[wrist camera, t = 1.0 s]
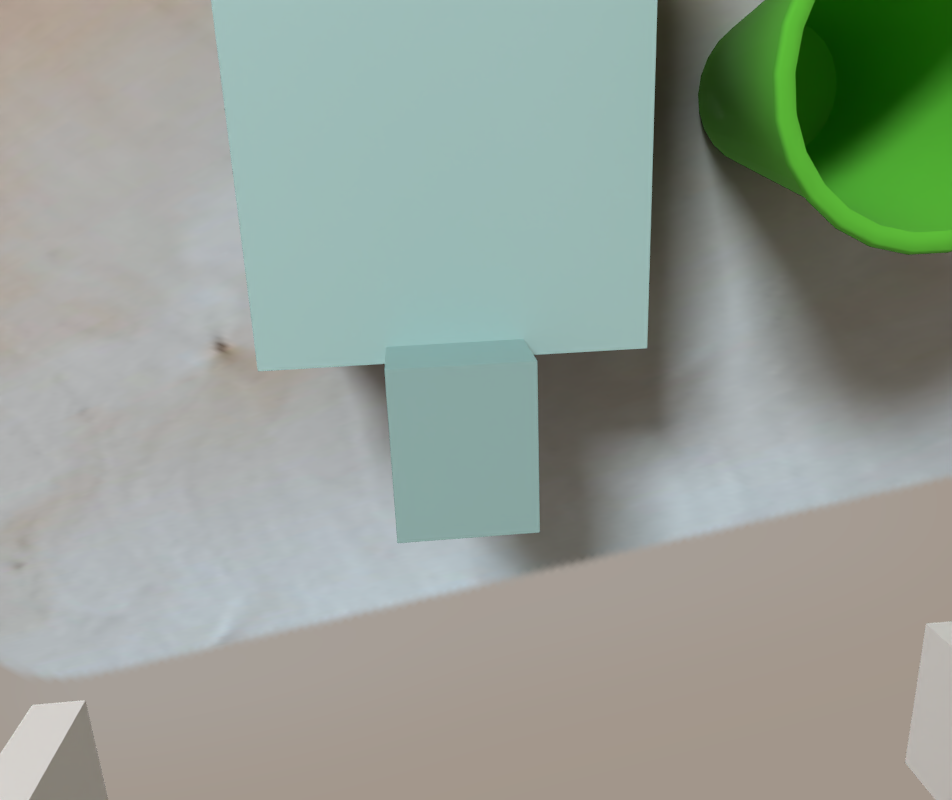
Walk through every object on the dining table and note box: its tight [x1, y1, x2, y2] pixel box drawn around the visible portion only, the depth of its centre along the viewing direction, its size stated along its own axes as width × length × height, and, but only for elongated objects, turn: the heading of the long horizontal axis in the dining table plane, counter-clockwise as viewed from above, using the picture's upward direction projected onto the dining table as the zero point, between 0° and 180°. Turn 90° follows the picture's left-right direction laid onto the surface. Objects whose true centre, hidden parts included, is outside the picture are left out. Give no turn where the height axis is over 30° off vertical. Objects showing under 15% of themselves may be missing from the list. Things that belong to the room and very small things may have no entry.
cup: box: [698, 0, 952, 255], centre depth 24 cm, size 9×9×11 cm
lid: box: [211, 0, 657, 543], centre depth 21 cm, size 21×11×4 cm, turn 2°
